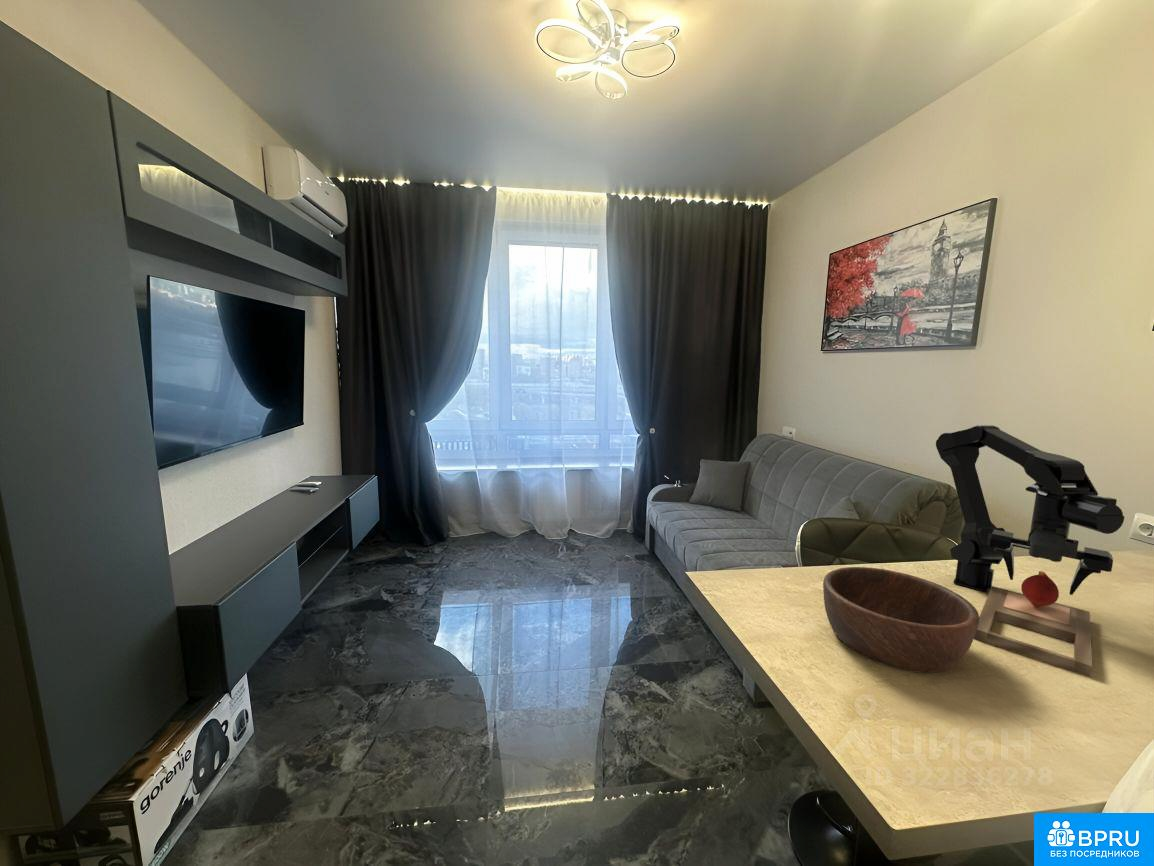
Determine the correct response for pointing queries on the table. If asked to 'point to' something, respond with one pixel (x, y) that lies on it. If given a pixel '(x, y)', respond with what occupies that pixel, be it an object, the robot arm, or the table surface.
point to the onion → (1040, 590)
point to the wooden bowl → (899, 618)
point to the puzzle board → (1038, 628)
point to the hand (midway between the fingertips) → (1040, 586)
